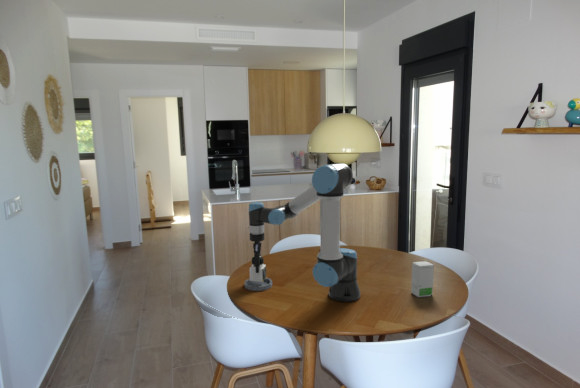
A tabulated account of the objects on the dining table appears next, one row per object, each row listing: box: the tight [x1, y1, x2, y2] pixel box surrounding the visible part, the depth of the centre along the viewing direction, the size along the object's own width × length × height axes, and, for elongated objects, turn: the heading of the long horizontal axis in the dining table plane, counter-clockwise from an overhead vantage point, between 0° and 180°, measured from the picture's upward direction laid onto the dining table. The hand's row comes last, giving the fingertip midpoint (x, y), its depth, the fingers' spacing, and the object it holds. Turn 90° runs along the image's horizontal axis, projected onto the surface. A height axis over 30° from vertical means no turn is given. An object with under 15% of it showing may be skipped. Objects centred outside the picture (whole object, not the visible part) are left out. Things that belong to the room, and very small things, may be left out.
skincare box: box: [410, 261, 435, 298], centre depth 194 cm, size 8×7×16 cm
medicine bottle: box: [248, 256, 267, 282], centre depth 208 cm, size 7×7×12 cm
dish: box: [244, 277, 273, 292], centre depth 209 cm, size 14×14×2 cm
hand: (258, 275), depth 209 cm, fingers closed on medicine bottle, 8 cm apart
